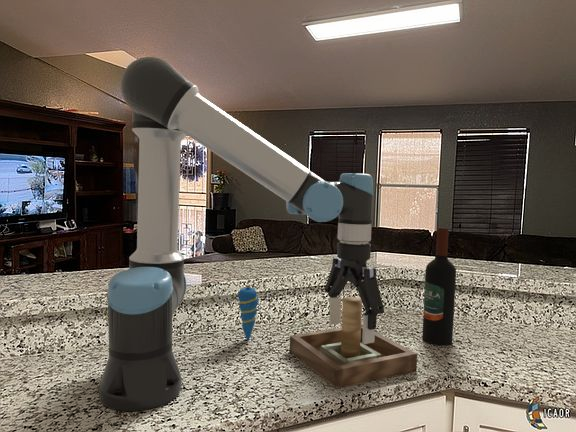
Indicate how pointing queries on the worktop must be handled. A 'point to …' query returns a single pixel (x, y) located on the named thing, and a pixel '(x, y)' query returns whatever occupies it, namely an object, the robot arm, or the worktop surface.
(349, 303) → the peg
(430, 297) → the wine bottle
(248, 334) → the ornament
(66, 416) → the worktop surface
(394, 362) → the box
